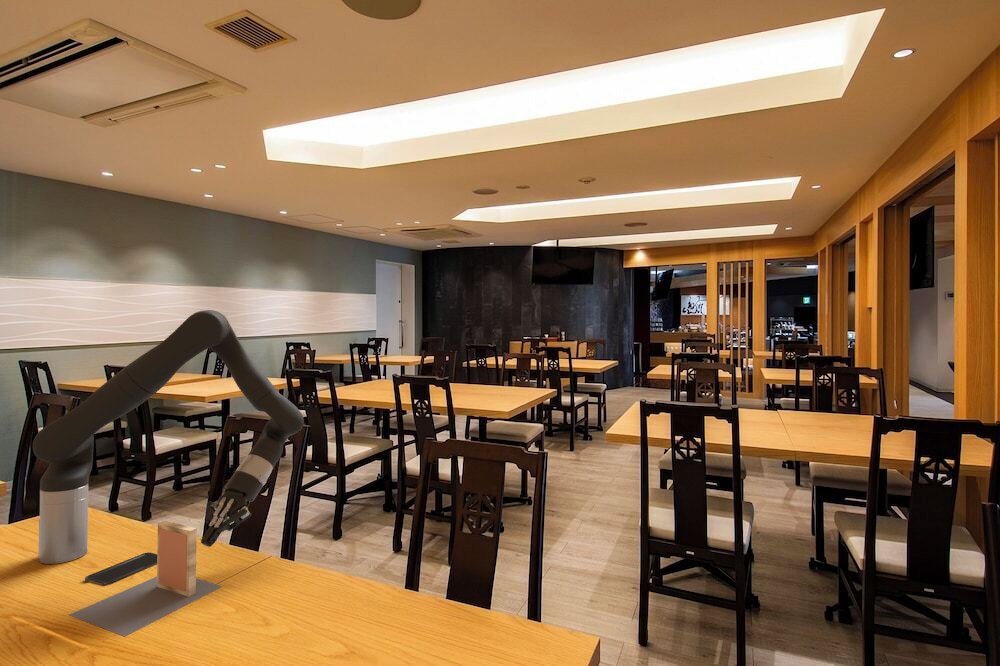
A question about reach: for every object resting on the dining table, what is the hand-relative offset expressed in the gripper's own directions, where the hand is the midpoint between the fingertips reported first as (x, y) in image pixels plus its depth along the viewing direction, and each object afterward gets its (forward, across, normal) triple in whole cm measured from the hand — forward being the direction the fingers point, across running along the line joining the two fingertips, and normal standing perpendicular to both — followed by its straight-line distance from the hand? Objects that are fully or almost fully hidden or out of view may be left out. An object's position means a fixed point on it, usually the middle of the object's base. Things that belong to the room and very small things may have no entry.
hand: (205, 544), depth 122 cm
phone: (+9, -19, +2) cm, 21 cm away
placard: (+10, 0, 0) cm, 10 cm away
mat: (+14, -1, -3) cm, 14 cm away
